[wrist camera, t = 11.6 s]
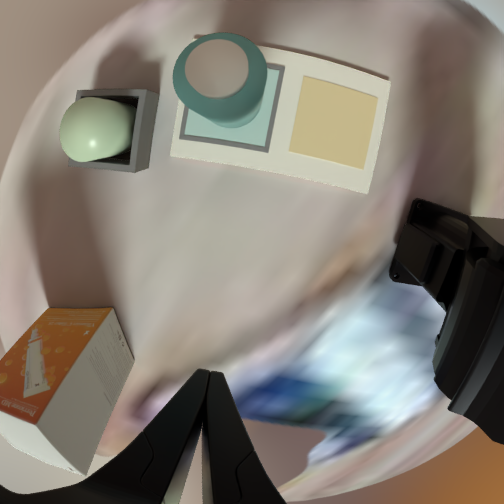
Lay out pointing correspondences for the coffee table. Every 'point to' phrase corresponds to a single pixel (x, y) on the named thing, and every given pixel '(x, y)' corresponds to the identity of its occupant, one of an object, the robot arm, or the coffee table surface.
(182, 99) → the teal marker
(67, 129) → the button
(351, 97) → the colouring sheet
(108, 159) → the frame
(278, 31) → the coffee table surface
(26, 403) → the small box
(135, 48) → the coffee table surface
